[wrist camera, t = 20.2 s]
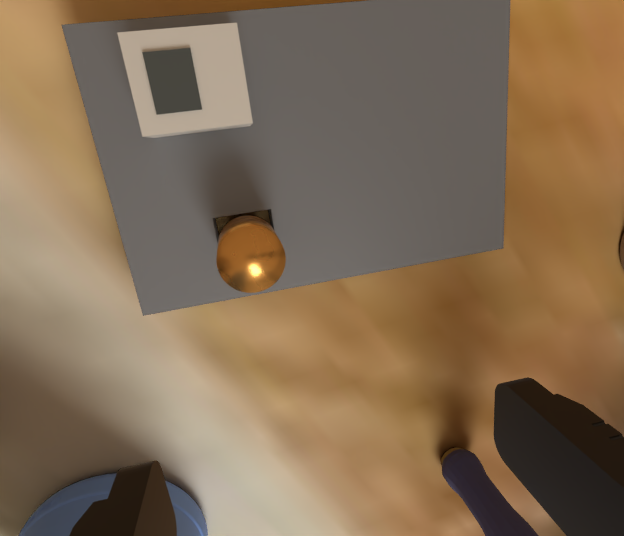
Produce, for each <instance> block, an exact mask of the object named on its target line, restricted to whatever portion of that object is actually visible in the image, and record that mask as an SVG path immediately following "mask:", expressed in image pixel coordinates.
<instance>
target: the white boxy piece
mask: <svg viewBox="0 0 624 536" xmlns="http://www.w3.org/2000/svg"><path fill="white" fill-rule="evenodd" d="M117 34H118V38H119V42H120V47H121V51H122V55H123V59H124V63H125V67H126V71H127V75H128V79H129V84H130V88H131V92H132V96H133V100H134V104H135V108H136V112H137V116H138V120H139V125H140V129H141V133H142V137H149V138H158V137H166V136H174V135H182V134H190V133H199V132H207V131H215V130H223V129H231V128H239V127H247V126H251V125H252V124H253V121H252V114H251V108H250V102H249V96H248V89H247V83H246V77H245V71H244V64H243V58H242V52H241V45H240V39H239V33H238V27H237V23H225V24H213V25H201V26H189V27H177V28H165V29H153V30H141V31H129V32H118V33H117Z"/></svg>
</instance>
